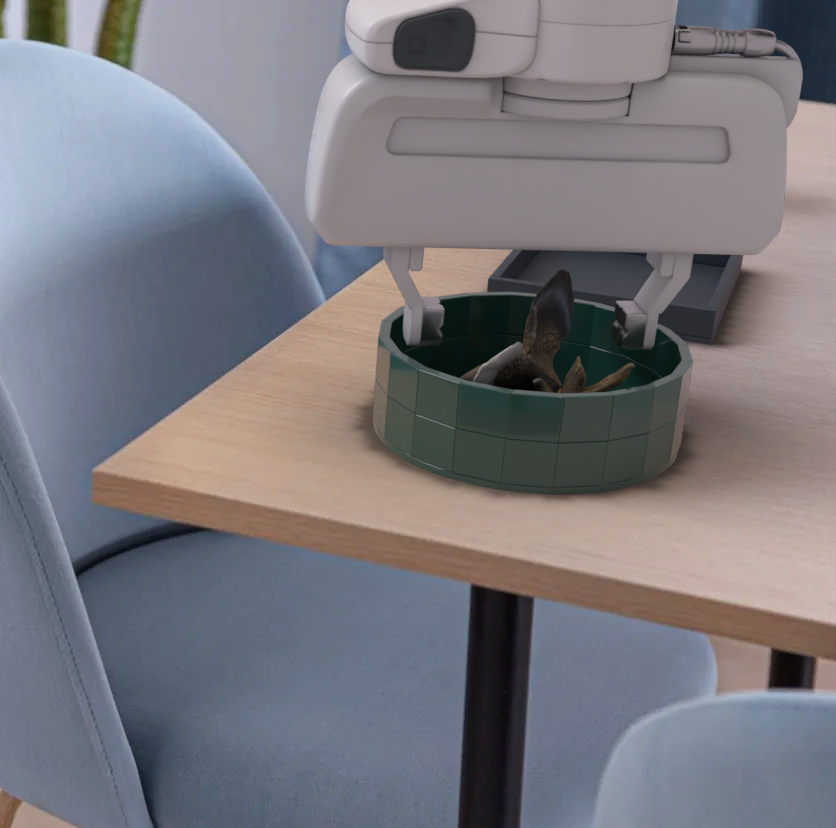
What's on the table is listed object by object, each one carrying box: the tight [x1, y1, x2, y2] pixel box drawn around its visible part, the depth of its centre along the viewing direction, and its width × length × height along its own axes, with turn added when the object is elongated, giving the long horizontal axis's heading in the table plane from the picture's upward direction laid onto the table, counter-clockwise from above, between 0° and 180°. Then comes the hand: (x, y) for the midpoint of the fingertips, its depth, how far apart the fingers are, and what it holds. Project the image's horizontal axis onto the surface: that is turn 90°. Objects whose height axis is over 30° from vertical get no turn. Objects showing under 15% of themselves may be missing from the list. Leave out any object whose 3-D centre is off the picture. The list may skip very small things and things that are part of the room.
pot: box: [372, 291, 694, 495], centre depth 78 cm, size 14×14×4 cm
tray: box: [486, 250, 744, 346], centre depth 98 cm, size 14×12×2 cm
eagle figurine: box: [460, 269, 635, 394], centre depth 78 cm, size 8×7×9 cm
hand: (527, 343), depth 77 cm, fingers open, 8 cm apart
